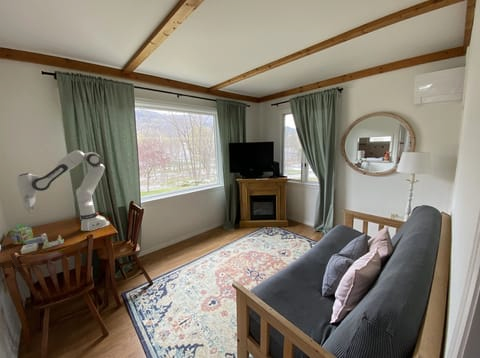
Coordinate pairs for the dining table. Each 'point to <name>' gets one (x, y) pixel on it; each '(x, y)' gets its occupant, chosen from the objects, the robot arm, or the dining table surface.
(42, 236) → the steel pin
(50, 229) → the dining table surface
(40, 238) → the bar
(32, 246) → the slot block
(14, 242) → the chalk box
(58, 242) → the peg rack
